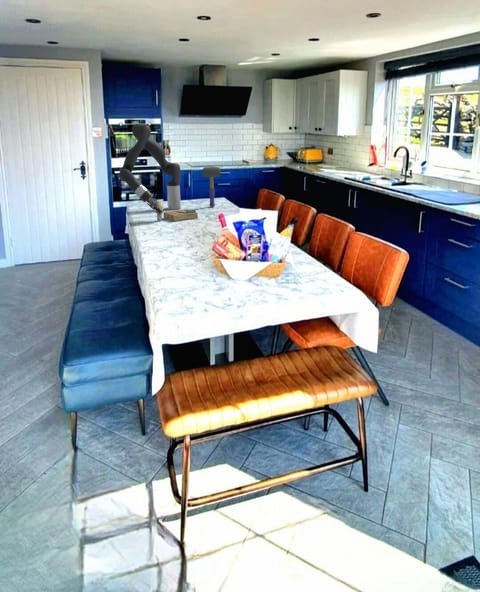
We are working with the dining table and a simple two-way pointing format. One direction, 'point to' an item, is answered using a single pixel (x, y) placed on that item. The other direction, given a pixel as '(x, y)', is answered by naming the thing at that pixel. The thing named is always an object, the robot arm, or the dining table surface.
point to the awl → (160, 206)
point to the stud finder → (191, 211)
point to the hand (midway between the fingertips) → (161, 211)
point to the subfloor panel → (180, 215)
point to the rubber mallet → (211, 180)
